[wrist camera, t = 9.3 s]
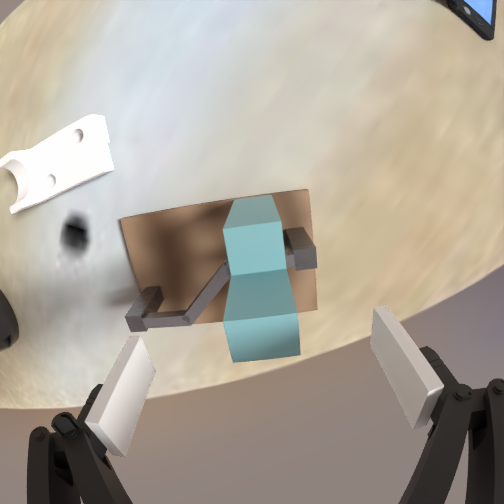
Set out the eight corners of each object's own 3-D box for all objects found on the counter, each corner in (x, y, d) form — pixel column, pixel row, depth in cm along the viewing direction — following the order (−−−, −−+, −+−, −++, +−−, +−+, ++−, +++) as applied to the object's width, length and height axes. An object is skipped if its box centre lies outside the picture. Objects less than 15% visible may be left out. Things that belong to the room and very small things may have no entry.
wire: (159, 313, 36) (142, 346, 29) (140, 287, 35) (119, 316, 28) (310, 240, 33) (323, 264, 26) (293, 207, 31) (304, 223, 25)
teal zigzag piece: (248, 283, 34) (242, 399, 17) (234, 199, 31) (209, 261, 14) (281, 278, 34) (302, 393, 17) (271, 194, 31) (291, 250, 14)
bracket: (46, 201, 32) (11, 214, 25) (34, 155, 30) (-2, 160, 23) (117, 169, 31) (85, 176, 24) (104, 116, 29) (70, 111, 22)
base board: (154, 322, 38) (152, 326, 37) (123, 217, 33) (120, 219, 32) (315, 305, 37) (317, 309, 36) (307, 189, 32) (308, 190, 31)
